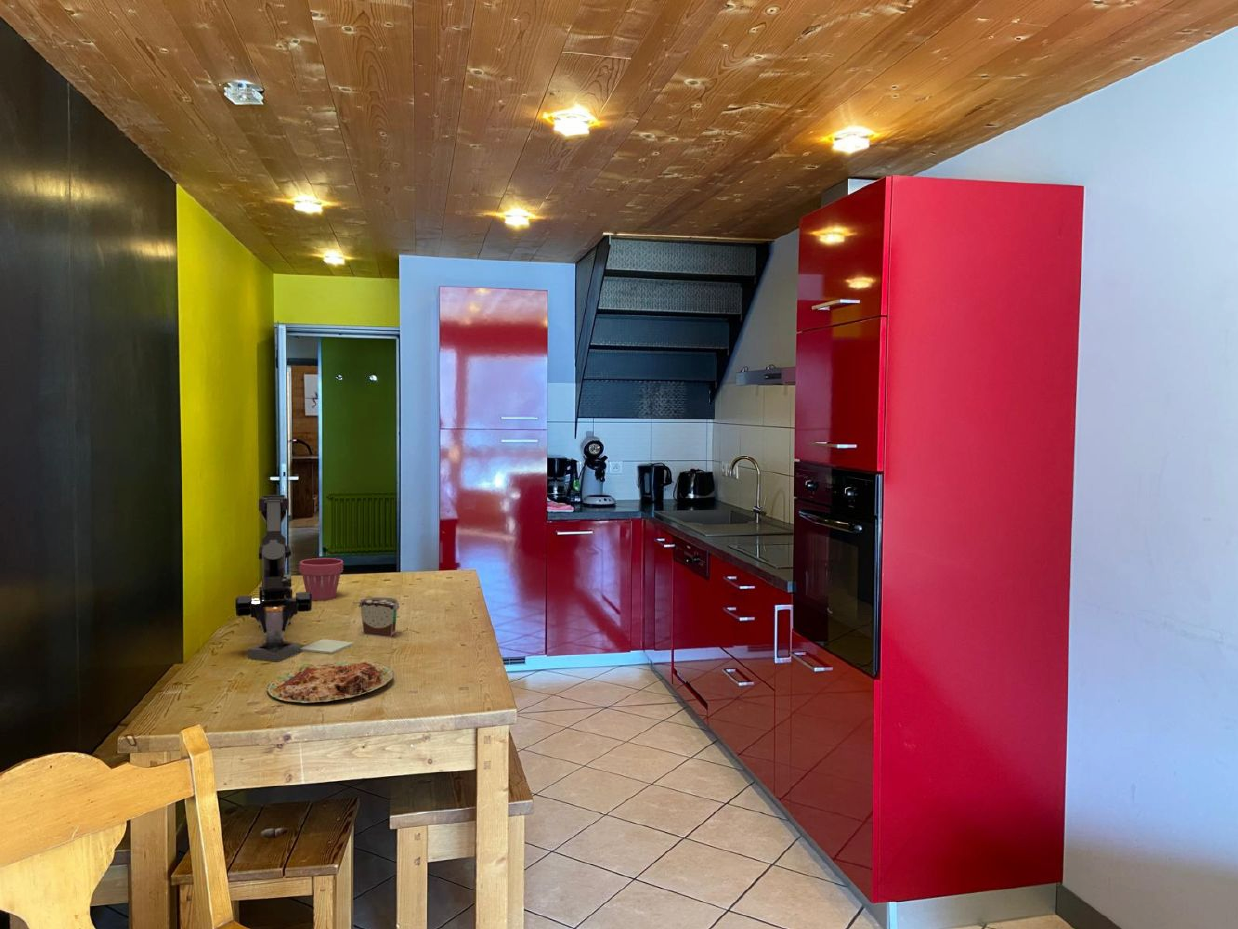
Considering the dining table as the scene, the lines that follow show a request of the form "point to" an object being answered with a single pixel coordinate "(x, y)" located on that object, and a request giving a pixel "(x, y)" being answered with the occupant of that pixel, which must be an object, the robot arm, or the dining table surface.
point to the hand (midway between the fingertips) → (274, 631)
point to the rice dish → (329, 681)
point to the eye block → (274, 652)
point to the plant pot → (321, 577)
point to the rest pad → (327, 646)
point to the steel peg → (274, 627)
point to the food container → (379, 616)
